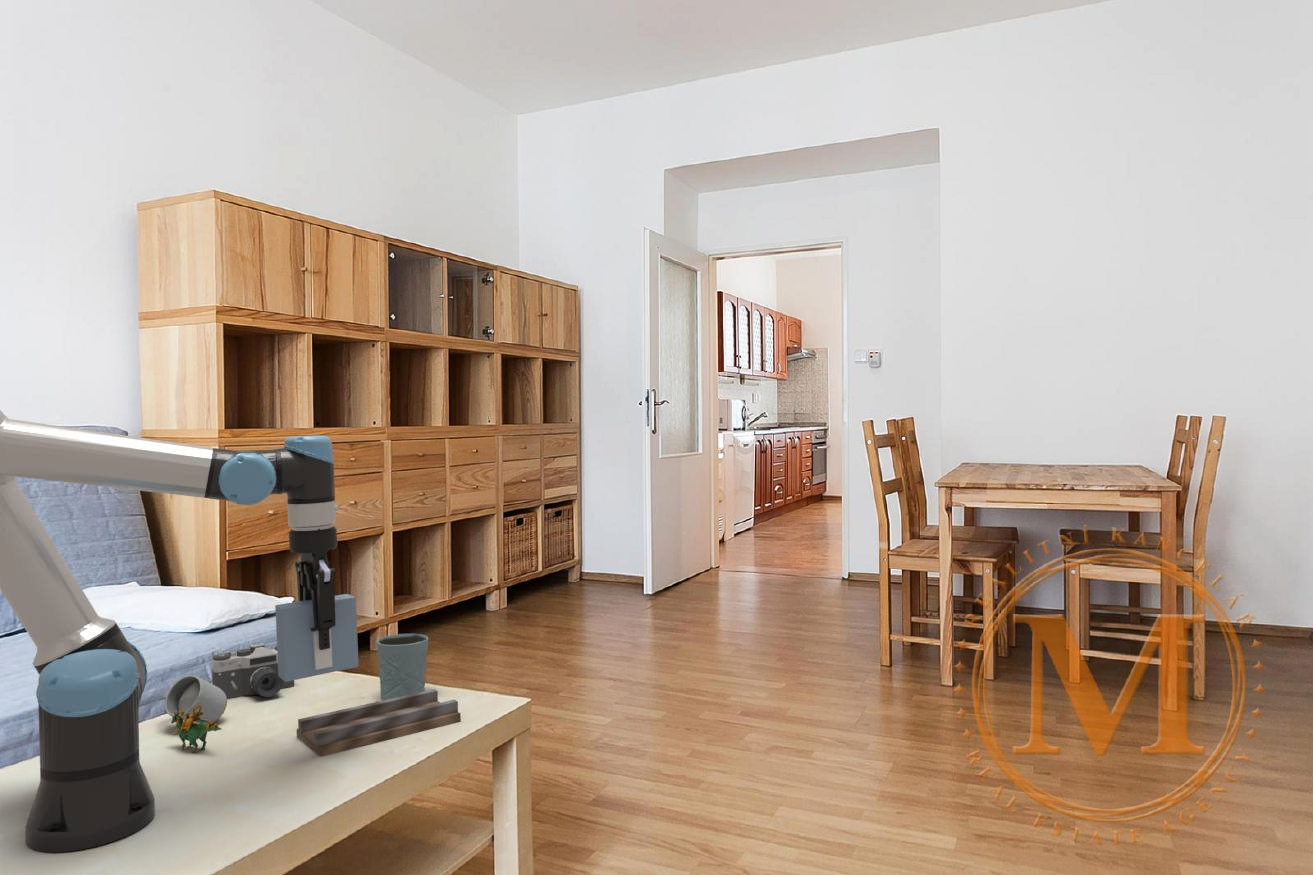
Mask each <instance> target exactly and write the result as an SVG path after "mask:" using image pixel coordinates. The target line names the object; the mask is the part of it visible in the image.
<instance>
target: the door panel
mask: <svg viewBox="0 0 1313 875" xmlns="http://www.w3.org/2000/svg"><path fill="white" fill-rule="evenodd" d="M274 607H275V608H274V610H275V628H276V646H277V653H278V674H279V677H280V678H281V679H282V680H284V681H285V682H288V681H293V680H294V681H297V680H301V679H305V678H311V677H315V676H321V675H325V674H330V673H335V672H340V671H344V670H349V669H355V668H359V664H360V663H359V646H358V644H359V643H358V642H359V641H358V622H357V620H358V619H357V618H358V617H357V597H355V596H353V595H351V594H349V593H344V594H339V595H338V594H337V595H335V622H336V625H335V626H334V627H332V628H331V645H332V667H327V668H323V669H318V670H315V667H314V645H313V632H311V629H310V628H315V623H314V614H313V604H312V600H306V601H299V602H298V601H294V602H286V603H279V604H275V606H274Z"/></svg>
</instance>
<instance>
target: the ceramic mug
mask: <svg viewBox="0 0 1313 875" xmlns="http://www.w3.org/2000/svg"><path fill="white" fill-rule="evenodd" d="M162 699H163V700H165V701H164V708H165V712H166V713H167V714H168V716H170V717H171V718H172V717H173V716H174V712H175V711H178V712H179V711H180V710H181V709H183V711H184V714H183V716H181V714H179V716H181V717H182V718H183V721H184V720H185V719H186V717H185V714H187V713H189V717H190V716H191V715H192V714H193V709H194V707H195V706H197V705H201V706H202V709H201V711H200V712H204V713H203V715H200V716H199V718H201V719H205V720H209V721H211V722H213V724H215V723H216V722H217V721H218V720H219V719H220V718H221V717H222V715H223V714H224V712H225V710H226V709H227V704H228V699H227V697H226V694H225V693H224V692H223V691H222V690H221V689H220V688H218V687H217V686H215V685H213V683H210V682H209V681H207V680H205V679H203V678H201V677H200V676H198V675H195V674H192V675H191V674H190V675H186V676H184V677H181V678H179V680H177V681H176V682H174V684H173V685H172V686H171V688H170V689H167V690H166V691H165V692H164V694H163V696H162ZM195 712H199V707H198V708H196V710H195ZM176 713H177V712H176ZM176 713H175V714H176ZM196 715H197V714H196ZM209 721H207V722H204V723H206V724H208V722H209ZM202 722H203V721H202Z"/></svg>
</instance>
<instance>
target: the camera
mask: <svg viewBox="0 0 1313 875" xmlns="http://www.w3.org/2000/svg"><path fill="white" fill-rule="evenodd" d="M211 661H212V662H211V663H212V669H211V671H212V673H211V674H212V675H211V676H212V684H213V685H215V686H217V687H218V688H220V689H221V690H222V691H223V692H224V693H225V694H226V697H227V700H232V699H236V698H237V699H238V698H243V697H249V696H255V695H258V696H261V697H264V698H271V697H274V696H275V695H277V694H278V693H279V692H280V691H281V690H284V689H290V688H294V687H295V680H293V681H288V682H285V681H284V680H282V679H281V678H280V677H279V674H278V653H277V645H276V646H275V647H273V648H267V647H266V646H265V644H264V643H262V642H261V643H259V644H255V645H254V644H250V646H249V648H240V649H239V650H237V651H235V648H233V649H232V648H231V652H225V653H218V654H214V655H213V656H212V660H211Z"/></svg>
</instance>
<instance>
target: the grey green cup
mask: <svg viewBox="0 0 1313 875" xmlns="http://www.w3.org/2000/svg"><path fill="white" fill-rule="evenodd" d="M375 644H376V651H377V652H376V653H377V663H378V674H379V684H380V687H379V688H380V689H379V690H380V701H383V700H387V699H392V698H396V697H401V696H406V695H410V694H415V693H419V692H424V691H426V690H425V686H426V672H427V671H426V670H427V657H428V647H429V637H428V635H425V634H421V633H420V634H419V633H397V634H391V635H386V636H383V637H380V638H378V639H376V643H375Z"/></svg>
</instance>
